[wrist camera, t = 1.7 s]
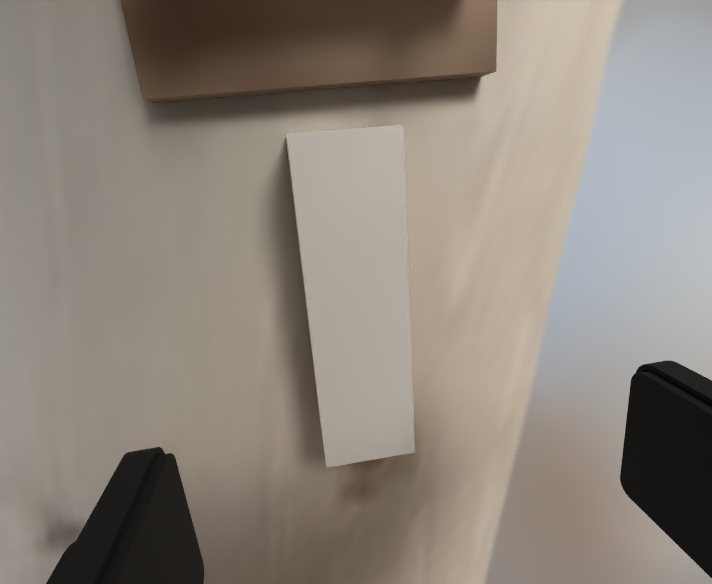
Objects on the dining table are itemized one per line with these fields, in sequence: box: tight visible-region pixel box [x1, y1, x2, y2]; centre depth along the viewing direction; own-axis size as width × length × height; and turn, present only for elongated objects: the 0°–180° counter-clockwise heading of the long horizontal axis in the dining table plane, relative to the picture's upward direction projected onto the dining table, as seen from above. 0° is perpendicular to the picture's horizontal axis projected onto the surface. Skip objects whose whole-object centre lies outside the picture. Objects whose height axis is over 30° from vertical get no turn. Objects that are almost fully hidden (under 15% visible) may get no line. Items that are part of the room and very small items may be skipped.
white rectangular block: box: [286, 124, 415, 468], centre depth 17 cm, size 12×4×4 cm, turn 4°
